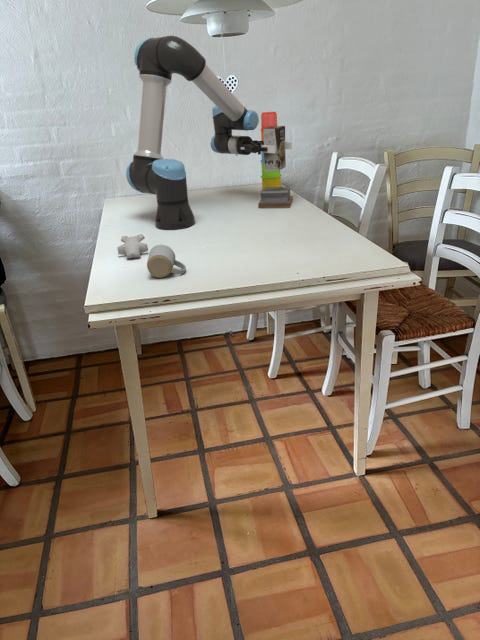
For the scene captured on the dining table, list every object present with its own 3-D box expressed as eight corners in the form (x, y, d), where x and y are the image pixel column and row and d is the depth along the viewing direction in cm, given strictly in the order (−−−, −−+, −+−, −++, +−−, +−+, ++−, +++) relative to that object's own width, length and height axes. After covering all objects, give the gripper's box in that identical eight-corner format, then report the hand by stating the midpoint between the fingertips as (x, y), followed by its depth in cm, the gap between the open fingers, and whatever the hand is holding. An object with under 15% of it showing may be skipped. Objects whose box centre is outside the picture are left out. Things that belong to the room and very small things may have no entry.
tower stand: (289, 208, 196) (289, 193, 193) (258, 208, 198) (257, 193, 195) (292, 200, 207) (292, 186, 204) (263, 200, 209) (262, 186, 207)
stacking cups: (257, 193, 222) (254, 113, 206) (265, 189, 230) (263, 111, 215) (278, 194, 218) (277, 112, 203) (285, 189, 227) (284, 110, 211)
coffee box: (279, 171, 191) (278, 128, 184) (264, 171, 194) (262, 128, 186) (286, 167, 198) (285, 125, 191) (271, 166, 201) (270, 125, 194)
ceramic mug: (147, 280, 134) (144, 254, 130) (150, 269, 141) (147, 244, 137) (185, 278, 134) (183, 251, 131) (186, 267, 141) (184, 242, 138)
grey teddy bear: (116, 250, 147) (117, 231, 159) (119, 265, 150) (119, 245, 162) (147, 246, 148) (145, 228, 160) (149, 261, 151) (147, 242, 163)
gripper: (258, 150, 212) (299, 153, 199) (223, 158, 197) (265, 162, 184) (257, 132, 209) (299, 134, 195) (222, 139, 194) (265, 141, 180)
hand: (283, 147), depth 190 cm, fingers closed on coffee box, 10 cm apart
